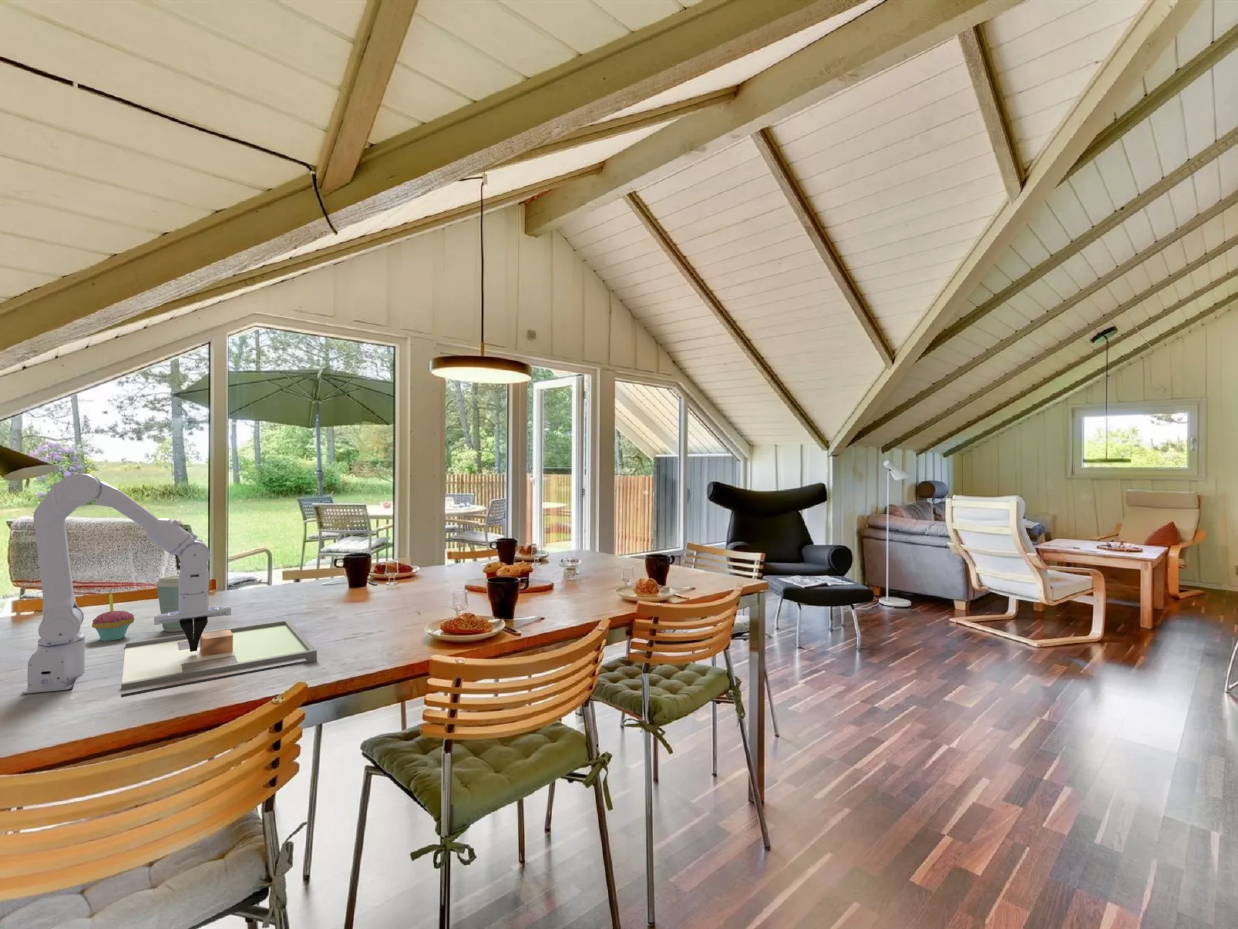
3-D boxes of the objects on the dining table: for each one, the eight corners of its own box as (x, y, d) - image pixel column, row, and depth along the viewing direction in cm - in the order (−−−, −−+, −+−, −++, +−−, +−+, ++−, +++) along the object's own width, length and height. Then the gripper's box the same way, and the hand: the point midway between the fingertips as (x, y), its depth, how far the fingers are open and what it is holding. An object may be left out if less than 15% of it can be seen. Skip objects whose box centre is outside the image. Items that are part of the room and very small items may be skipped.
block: (201, 656, 136) (202, 639, 136) (200, 650, 141) (200, 633, 141) (232, 651, 140) (232, 635, 140) (229, 645, 145) (230, 629, 145)
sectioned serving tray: (121, 697, 117) (121, 684, 117) (125, 652, 143) (125, 642, 143) (316, 661, 139) (316, 650, 139) (288, 628, 165) (288, 619, 165)
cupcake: (85, 639, 153) (86, 593, 153) (124, 631, 161) (125, 587, 161) (101, 644, 149) (101, 597, 149) (140, 636, 157) (141, 591, 157)
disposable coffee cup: (163, 625, 167) (163, 572, 167) (207, 622, 171) (208, 570, 171) (148, 635, 157) (148, 579, 157) (196, 632, 161) (196, 577, 161)
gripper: (228, 585, 145) (228, 640, 146) (154, 593, 136) (153, 651, 136) (232, 590, 140) (231, 647, 140) (154, 598, 131) (154, 660, 131)
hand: (193, 650), depth 138 cm, fingers closed
